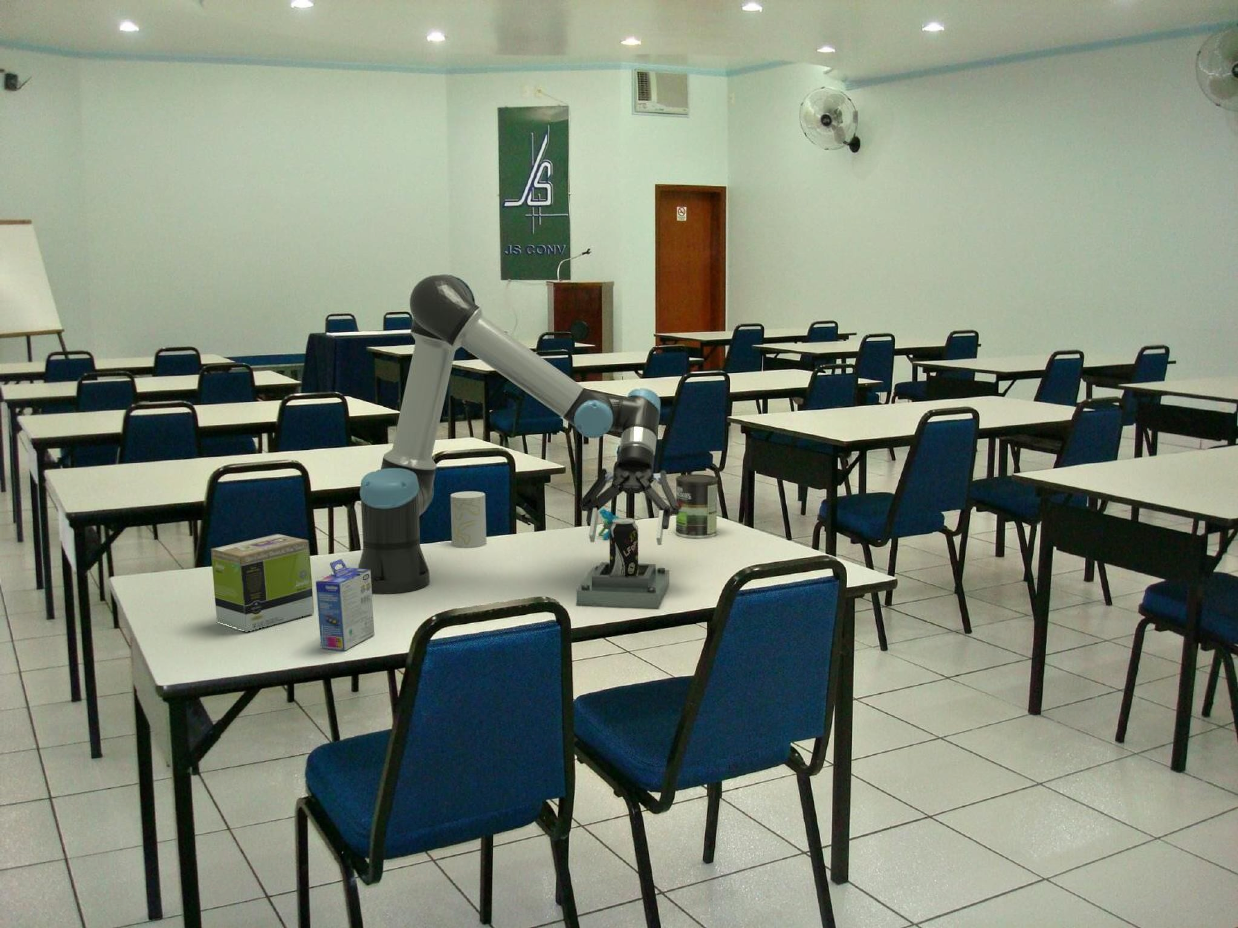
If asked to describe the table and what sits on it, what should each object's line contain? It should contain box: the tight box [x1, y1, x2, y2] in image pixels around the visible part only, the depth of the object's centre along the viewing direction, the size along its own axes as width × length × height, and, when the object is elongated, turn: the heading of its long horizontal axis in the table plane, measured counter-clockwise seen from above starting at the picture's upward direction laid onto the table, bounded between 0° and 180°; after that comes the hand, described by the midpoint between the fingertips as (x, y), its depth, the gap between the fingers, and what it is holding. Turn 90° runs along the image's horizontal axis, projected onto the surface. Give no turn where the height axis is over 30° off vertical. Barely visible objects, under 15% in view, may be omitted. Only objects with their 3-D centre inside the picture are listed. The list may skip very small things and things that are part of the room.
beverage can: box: [609, 517, 639, 576], centre depth 231 cm, size 6×6×12 cm
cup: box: [450, 490, 487, 549], centre depth 276 cm, size 8×8×12 cm
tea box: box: [210, 533, 315, 633], centre depth 216 cm, size 15×10×15 cm
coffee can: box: [675, 473, 719, 540], centre depth 285 cm, size 10×10×14 cm
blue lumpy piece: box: [598, 508, 620, 540], centre depth 281 cm, size 11×6×10 cm
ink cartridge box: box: [315, 558, 375, 652], centre depth 203 cm, size 10×6×14 cm, turn 160°
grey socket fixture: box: [576, 561, 670, 610], centre depth 232 cm, size 18×16×5 cm
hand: (625, 540), depth 231 cm, fingers open, 13 cm apart
